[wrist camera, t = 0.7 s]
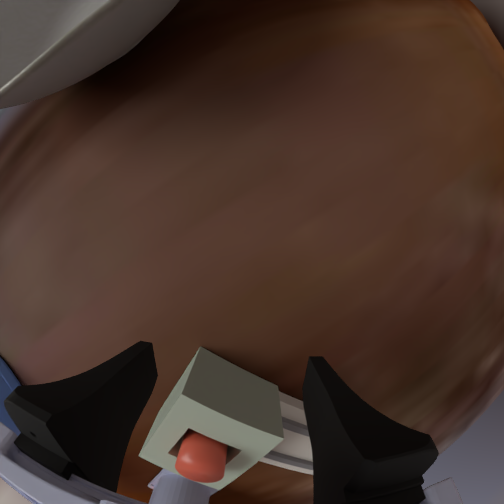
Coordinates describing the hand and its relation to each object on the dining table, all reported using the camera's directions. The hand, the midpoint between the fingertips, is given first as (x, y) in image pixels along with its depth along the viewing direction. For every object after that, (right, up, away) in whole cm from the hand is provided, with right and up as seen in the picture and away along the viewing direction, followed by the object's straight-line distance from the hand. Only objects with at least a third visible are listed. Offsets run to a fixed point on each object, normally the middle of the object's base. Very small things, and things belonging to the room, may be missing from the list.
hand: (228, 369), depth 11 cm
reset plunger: (-3, -10, +7) cm, 12 cm away
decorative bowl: (-14, +30, +7) cm, 33 cm away
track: (+6, -15, +12) cm, 20 cm away
